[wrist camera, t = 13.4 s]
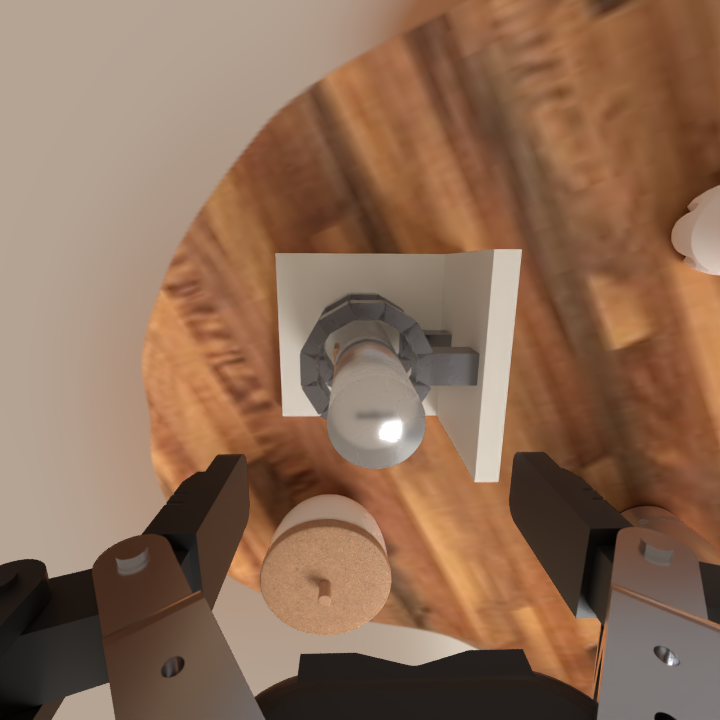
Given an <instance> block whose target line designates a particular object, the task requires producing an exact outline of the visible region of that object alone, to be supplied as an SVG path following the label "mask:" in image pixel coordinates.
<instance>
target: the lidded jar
mask: <svg viewBox="0 0 720 720" xmlns="http://www.w3.org/2000/svg"><path fill="white" fill-rule="evenodd" d="M260 586H261V592H262V595H263V598H264V600H265V602H266V603H267V605H268V607H269V608H270V610H271V611H272V612H273V613H274V614H275V615H276V616H277V617H278V618H279V619H280V620H281V621H282V622H284V623H286V624H287V625H289V626H291V627H293V628H295V629H297V630H300V631H303V632H307V633H311V634H317V635H333V634H340V633H344V632H348V631H351V630H354V629H356V628H358V627H360V626H362V625H364V624H365V623H367V622H368V621H370V620H371V619H372V618H373V617H374V616H375V615H376V614H377V613H378V612H379V611H380V609H381V608H382V607H383V606H384V604H385V602H386V600H387V598H388V595H389V592H390V588H391V570H390V565H389V561H388V557H387V552H386V547H385V543H384V539H383V536H382V533H381V531H380V529H379V527H378V525H377V523H376V521H375V520H374V518H373V517H372V515H371V514H370V513H369V512H368V511H367V510H366V509H365V508H364V507H363V506H362V505H361V504H359V503H358V502H356V501H354V500H352V499H350V498H348V497H345V496H341V495H336V494H323V495H318V496H314V497H311V498H309V499H306V500H304V501H302V502H301V503H299V504H298V505H296V506H295V507H294V508H293V509H292V510H290V512H289V513H288V514H287V515H286V516H285V517H284V519H283V520H282V522H281V523H280V525H279V526H278V528H277V530H276V532H275V534H274V536H273V538H272V540H271V543H270V546H269V549H268V551H267V554H266V556H265V558H264V561H263V564H262V568H261V573H260Z"/></svg>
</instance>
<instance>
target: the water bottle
mask: <svg viewBox="0 0 720 720" xmlns="http://www.w3.org/2000/svg"><path fill="white" fill-rule="evenodd" d="M687 208H688V209H689V210H690V212H689V213H687V214H686V215H684V216H683V217H681V218H680V219H679V220H678V221H677V222H676V223H675V226H674V227H673V229H672V234H671V242H672V244H673V246H674V248H675V250H676V251H678V252H679V253H681V254H682V255H684V256H686V257H685V258H684V260H683V261H684V262H685V263H686V264H687V265H688V266H689V267H690V268H693V269H695V270H697V271H700V272H703V273H707V274H711V275H720V185H719V186H716V187H714V188H712V189H709V190H707V191H706V192H704V193H702V194H701V195H699V196H698V197H696V198H695V199H693V200H692V202H691V203H690V204H689V205H688V206H687Z"/></svg>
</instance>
